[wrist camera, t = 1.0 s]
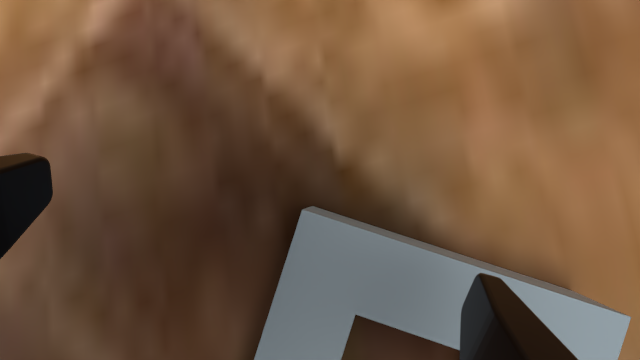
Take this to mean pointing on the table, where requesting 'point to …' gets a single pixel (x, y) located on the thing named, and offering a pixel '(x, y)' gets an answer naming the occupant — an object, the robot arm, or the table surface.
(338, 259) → the grey thick square frame
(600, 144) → the table surface
